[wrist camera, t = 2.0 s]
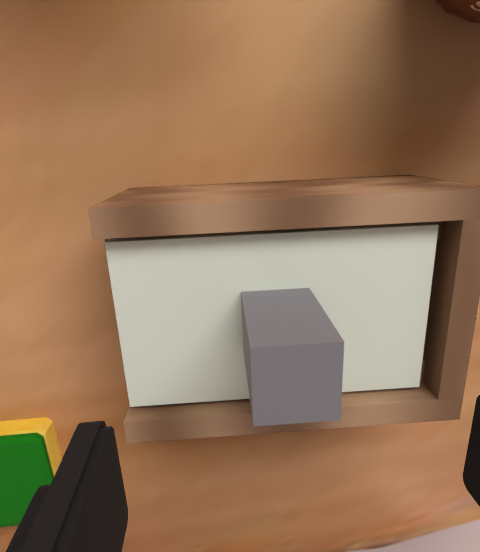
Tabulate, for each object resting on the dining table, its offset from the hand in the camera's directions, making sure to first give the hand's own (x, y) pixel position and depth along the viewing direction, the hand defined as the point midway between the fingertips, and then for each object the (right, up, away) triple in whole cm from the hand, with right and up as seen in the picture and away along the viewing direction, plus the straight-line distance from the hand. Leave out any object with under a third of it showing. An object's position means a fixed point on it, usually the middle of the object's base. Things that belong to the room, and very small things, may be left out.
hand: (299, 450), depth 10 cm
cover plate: (0, +3, +8) cm, 9 cm away
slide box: (+1, +5, +14) cm, 15 cm away
